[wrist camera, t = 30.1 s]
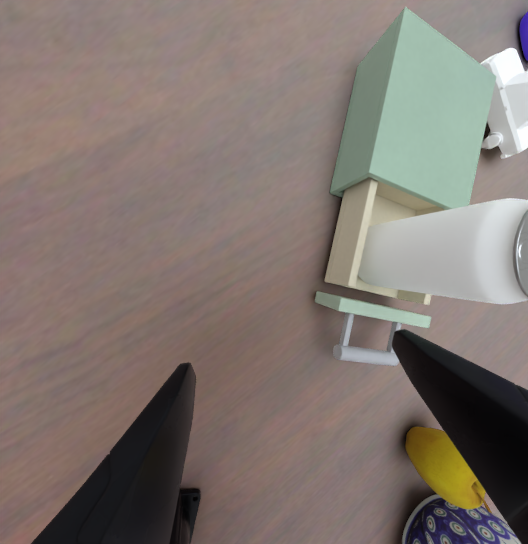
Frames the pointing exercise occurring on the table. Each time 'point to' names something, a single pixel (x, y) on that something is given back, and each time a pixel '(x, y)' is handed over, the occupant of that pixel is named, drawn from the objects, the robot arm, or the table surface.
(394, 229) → the can
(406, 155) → the cabinet
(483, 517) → the teapot
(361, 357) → the drawer
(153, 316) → the table surface
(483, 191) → the table surface
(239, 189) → the table surface
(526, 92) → the toy car
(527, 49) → the bottle
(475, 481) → the apple
